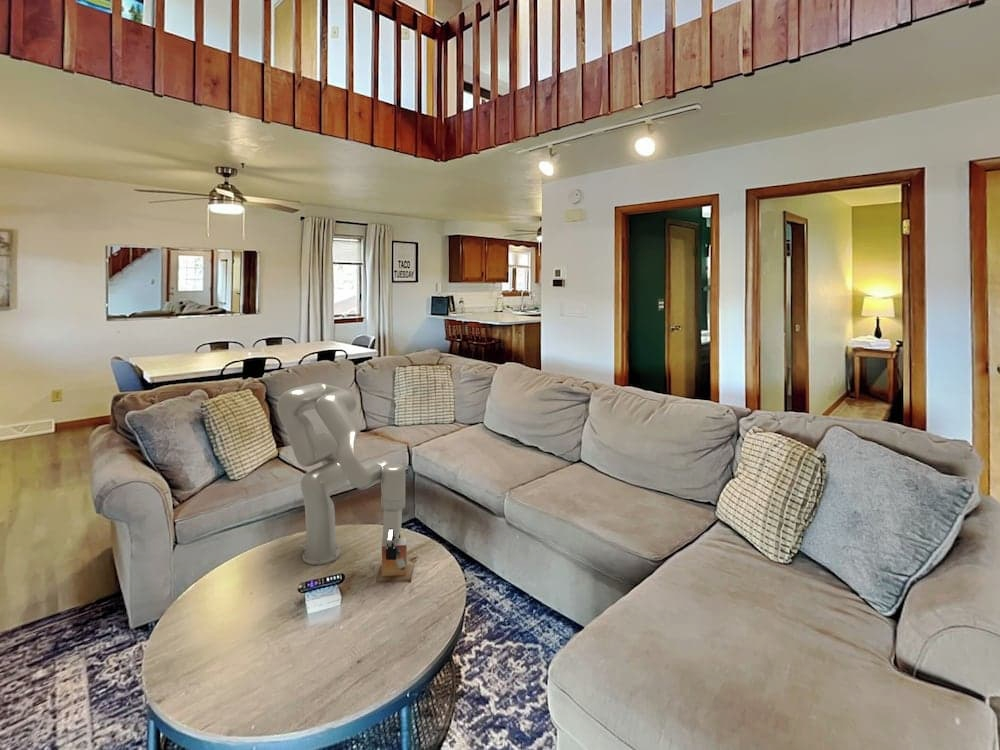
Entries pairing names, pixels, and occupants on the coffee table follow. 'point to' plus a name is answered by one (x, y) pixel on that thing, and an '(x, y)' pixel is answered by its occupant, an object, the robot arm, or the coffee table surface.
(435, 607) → the coffee table surface
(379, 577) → the walnut coaster board
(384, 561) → the small box
